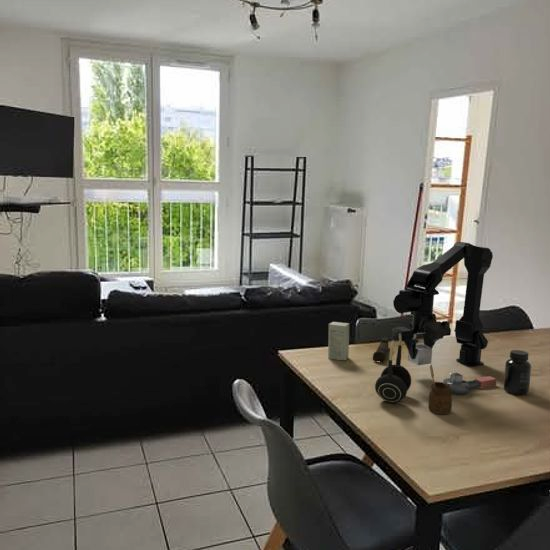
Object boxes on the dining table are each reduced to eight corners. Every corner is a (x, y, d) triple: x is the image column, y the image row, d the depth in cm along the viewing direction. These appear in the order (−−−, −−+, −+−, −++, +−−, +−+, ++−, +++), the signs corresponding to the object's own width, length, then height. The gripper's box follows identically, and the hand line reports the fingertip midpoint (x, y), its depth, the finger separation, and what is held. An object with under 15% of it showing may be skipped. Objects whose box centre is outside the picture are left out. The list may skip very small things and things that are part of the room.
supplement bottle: (527, 388, 155) (531, 350, 153) (529, 397, 149) (534, 357, 147) (502, 385, 158) (506, 347, 156) (503, 393, 151) (508, 354, 149)
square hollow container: (420, 358, 166) (421, 343, 165) (431, 363, 161) (432, 347, 160) (407, 360, 164) (408, 344, 163) (418, 365, 159) (419, 349, 158)
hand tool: (384, 364, 175) (385, 350, 174) (372, 362, 176) (373, 349, 175) (393, 348, 192) (394, 336, 191) (382, 346, 193) (383, 334, 193)
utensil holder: (448, 417, 135) (451, 373, 133) (423, 411, 138) (427, 368, 136) (453, 409, 140) (457, 366, 138) (430, 403, 143) (433, 361, 141)
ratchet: (483, 379, 162) (484, 364, 161) (501, 388, 156) (503, 372, 155) (437, 387, 155) (438, 371, 154) (454, 396, 148) (456, 380, 147)
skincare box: (348, 357, 180) (350, 323, 178) (345, 361, 176) (346, 326, 174) (331, 354, 182) (332, 320, 180) (327, 358, 178) (328, 323, 176)
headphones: (371, 405, 141) (375, 334, 138) (382, 386, 155) (386, 321, 151) (403, 411, 138) (408, 338, 135) (412, 391, 151) (417, 325, 148)
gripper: (415, 318, 149) (411, 370, 151) (465, 313, 156) (461, 362, 159) (392, 309, 159) (388, 358, 161) (440, 304, 166) (436, 351, 169)
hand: (419, 358), depth 162 cm, fingers closed on square hollow container, 5 cm apart
